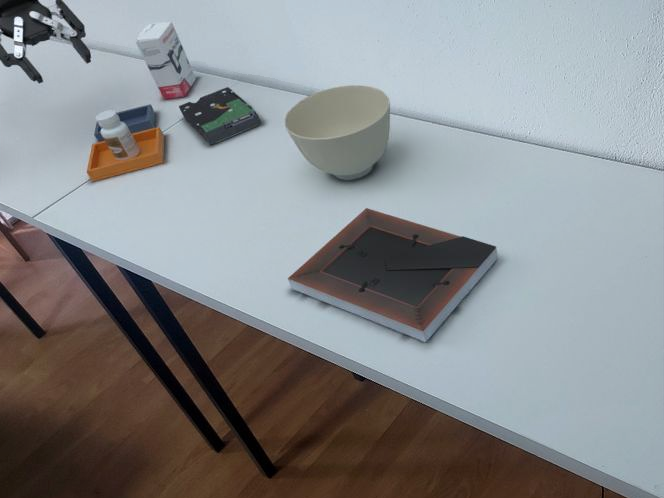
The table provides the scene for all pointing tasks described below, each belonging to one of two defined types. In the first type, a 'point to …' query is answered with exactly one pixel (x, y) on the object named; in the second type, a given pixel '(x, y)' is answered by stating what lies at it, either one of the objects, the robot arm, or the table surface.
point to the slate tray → (133, 120)
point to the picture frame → (395, 272)
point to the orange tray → (107, 165)
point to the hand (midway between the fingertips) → (65, 70)
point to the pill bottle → (117, 136)
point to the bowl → (341, 129)
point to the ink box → (166, 59)
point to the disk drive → (220, 115)
